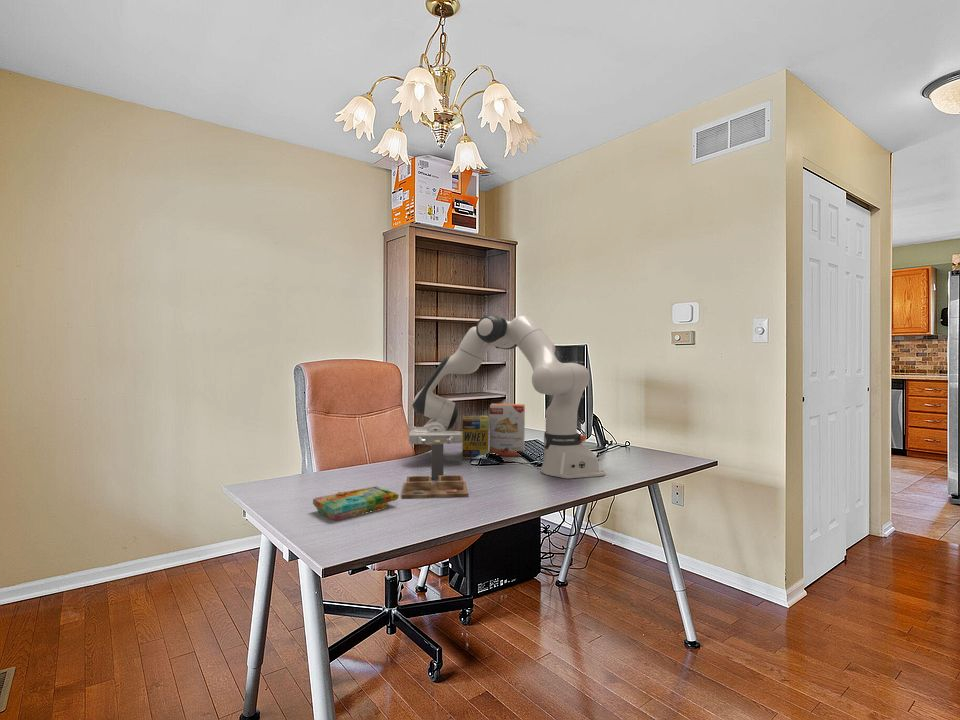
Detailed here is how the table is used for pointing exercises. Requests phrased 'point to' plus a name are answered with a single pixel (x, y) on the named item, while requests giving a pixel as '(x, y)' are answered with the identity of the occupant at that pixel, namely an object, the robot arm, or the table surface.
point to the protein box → (474, 436)
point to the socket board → (434, 487)
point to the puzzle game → (354, 502)
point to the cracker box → (507, 429)
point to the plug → (436, 459)
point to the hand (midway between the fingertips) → (436, 441)
